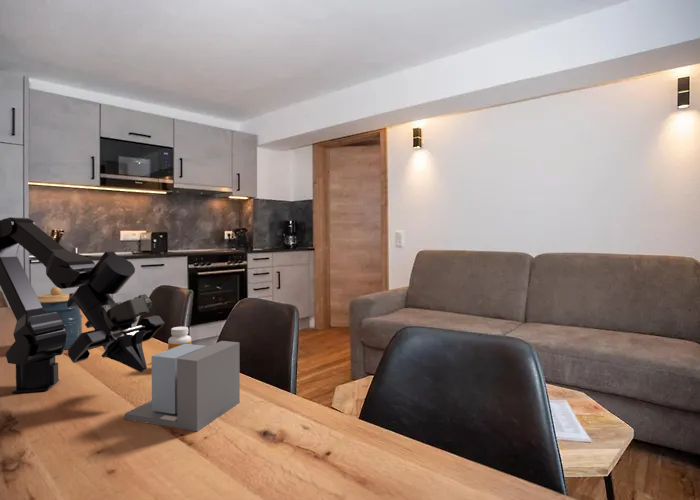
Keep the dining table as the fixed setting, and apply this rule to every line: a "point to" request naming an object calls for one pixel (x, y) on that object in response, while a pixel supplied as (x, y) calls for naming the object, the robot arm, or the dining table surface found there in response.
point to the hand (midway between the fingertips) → (144, 370)
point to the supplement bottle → (178, 337)
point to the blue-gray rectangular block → (167, 377)
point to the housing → (200, 388)
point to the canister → (63, 313)
